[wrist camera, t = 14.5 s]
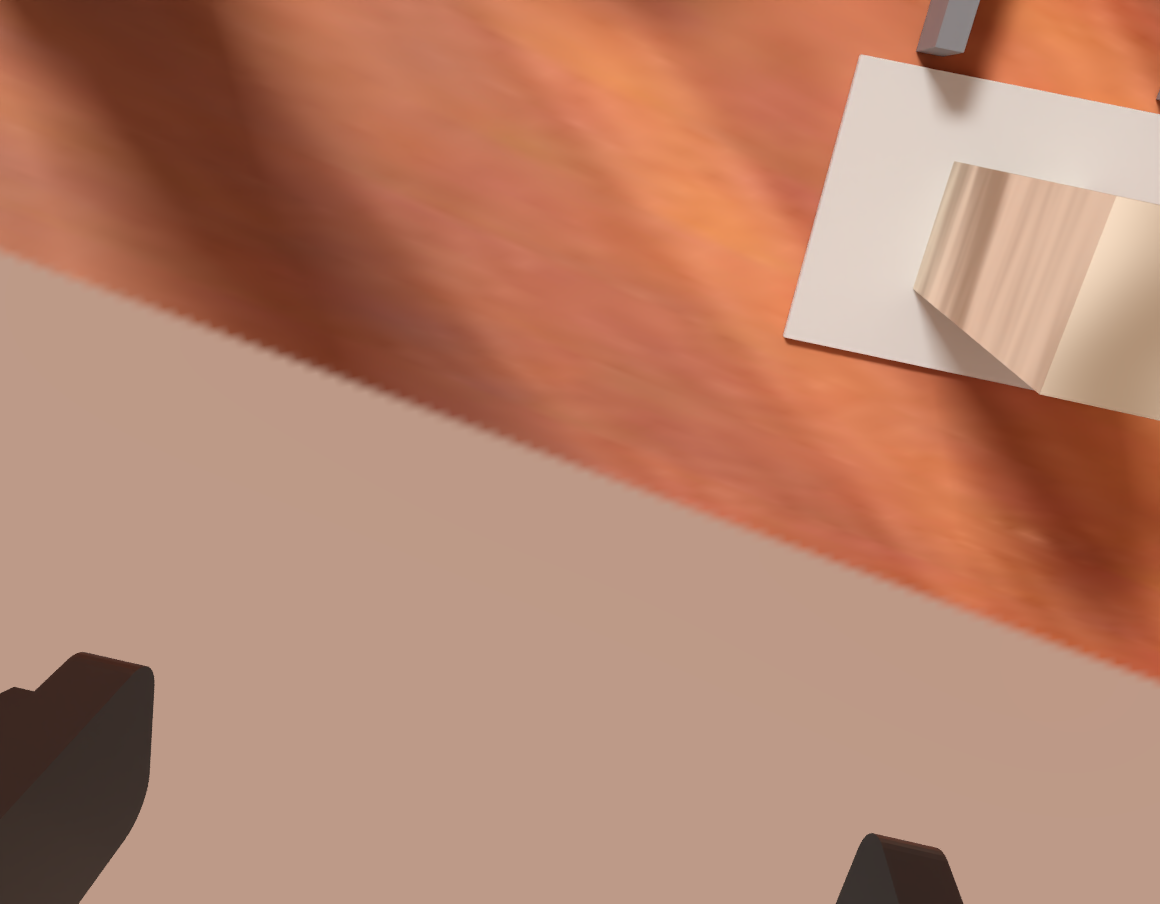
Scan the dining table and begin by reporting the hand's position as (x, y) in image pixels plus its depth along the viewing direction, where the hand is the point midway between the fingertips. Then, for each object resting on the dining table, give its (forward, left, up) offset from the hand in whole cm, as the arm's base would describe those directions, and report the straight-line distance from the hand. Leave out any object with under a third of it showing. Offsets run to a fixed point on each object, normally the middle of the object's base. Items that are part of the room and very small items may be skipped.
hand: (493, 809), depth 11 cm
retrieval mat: (+13, +5, -32) cm, 35 cm away
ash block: (+13, +5, -31) cm, 34 cm away
